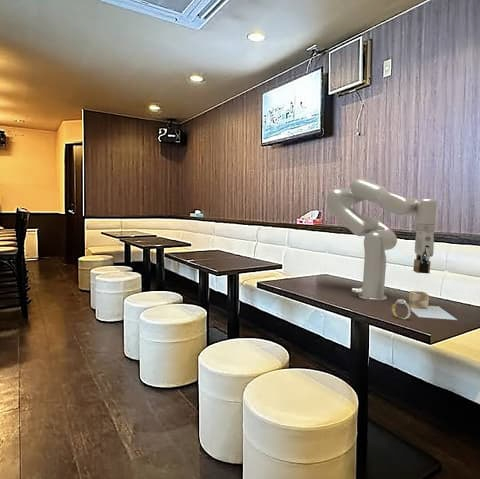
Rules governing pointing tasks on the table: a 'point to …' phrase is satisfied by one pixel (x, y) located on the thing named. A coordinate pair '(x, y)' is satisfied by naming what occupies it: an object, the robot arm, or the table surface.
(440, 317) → the board
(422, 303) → the base block
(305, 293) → the table surface
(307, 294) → the table surface
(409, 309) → the bracelet
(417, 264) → the walnut block
